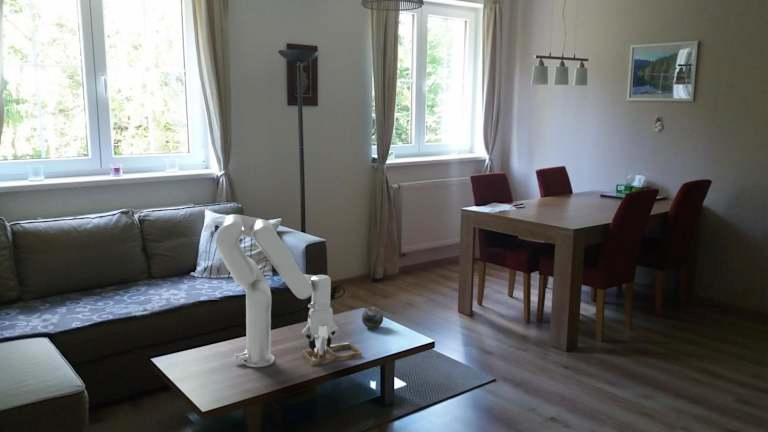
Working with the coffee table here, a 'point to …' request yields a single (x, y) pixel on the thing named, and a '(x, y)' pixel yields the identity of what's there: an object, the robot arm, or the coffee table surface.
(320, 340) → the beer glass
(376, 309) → the decorative stone
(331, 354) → the coaster frame
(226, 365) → the coffee table surface
